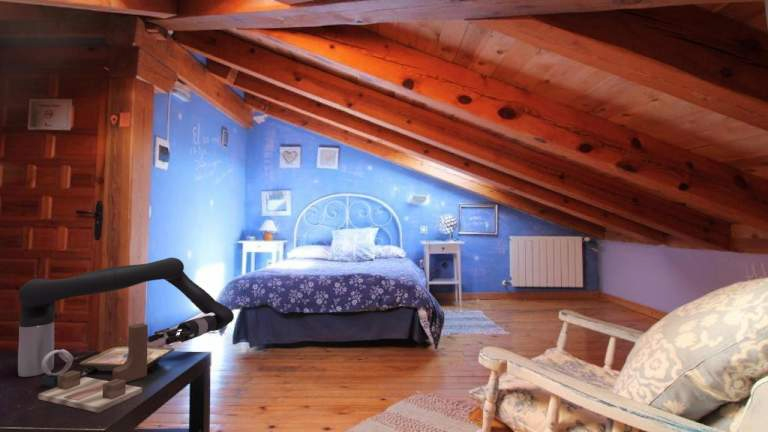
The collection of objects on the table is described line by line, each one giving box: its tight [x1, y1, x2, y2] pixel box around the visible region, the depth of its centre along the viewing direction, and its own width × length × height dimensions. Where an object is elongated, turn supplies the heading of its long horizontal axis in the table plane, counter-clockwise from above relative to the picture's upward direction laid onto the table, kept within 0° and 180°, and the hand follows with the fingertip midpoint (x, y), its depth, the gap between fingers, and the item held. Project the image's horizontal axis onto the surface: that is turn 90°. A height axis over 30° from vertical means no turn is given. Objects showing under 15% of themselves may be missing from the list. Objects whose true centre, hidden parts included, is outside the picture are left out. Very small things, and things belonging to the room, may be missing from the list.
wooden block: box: [112, 322, 149, 383], centre depth 125 cm, size 9×4×18 cm, turn 144°
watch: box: [41, 348, 74, 389], centre depth 122 cm, size 6×8×11 cm
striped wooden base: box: [37, 370, 143, 414], centre depth 113 cm, size 26×13×6 cm, turn 72°
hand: (157, 340), depth 135 cm, fingers open, 8 cm apart
